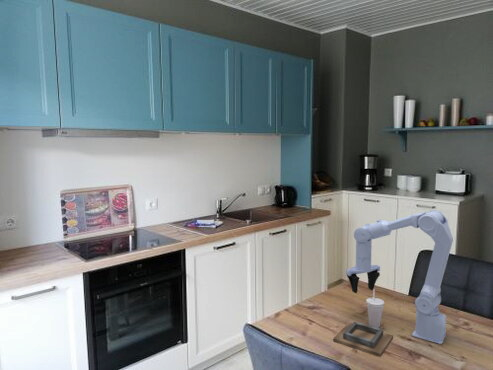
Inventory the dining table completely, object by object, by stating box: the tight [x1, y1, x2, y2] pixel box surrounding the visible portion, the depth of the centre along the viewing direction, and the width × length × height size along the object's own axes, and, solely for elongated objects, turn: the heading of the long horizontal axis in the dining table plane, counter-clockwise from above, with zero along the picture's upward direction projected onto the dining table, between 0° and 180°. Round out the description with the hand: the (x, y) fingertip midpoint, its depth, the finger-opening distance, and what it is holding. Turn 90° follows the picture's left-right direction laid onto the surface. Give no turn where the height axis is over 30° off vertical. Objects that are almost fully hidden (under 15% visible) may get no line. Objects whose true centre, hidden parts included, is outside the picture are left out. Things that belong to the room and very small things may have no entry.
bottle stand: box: [332, 320, 394, 358], centre depth 128 cm, size 16×14×3 cm
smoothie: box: [365, 288, 385, 329], centre depth 137 cm, size 6×6×14 cm
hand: (362, 290), depth 146 cm, fingers open, 7 cm apart
